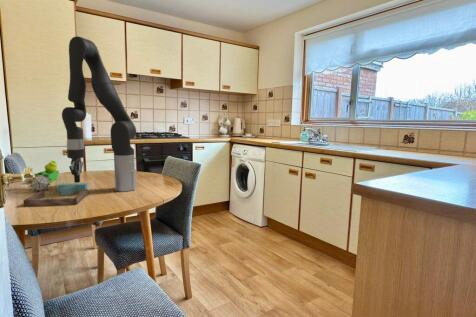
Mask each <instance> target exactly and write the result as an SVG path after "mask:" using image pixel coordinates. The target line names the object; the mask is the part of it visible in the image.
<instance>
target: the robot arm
mask: <svg viewBox="0 0 476 317" xmlns="http://www.w3.org/2000/svg"><path fill="white" fill-rule="evenodd" d="M68 59H69V61H68V62H69V64H68V65H69V83H68V94H67V99H68V101H69V102H71V103H73V106H74V107H71V106H67V107H65V108H63V109H62V112H61V118H62V122H63V124H64V125H63V126H64V128H65V130H66V154H67V155H66V156H67V158H68V159H71V161H70V165H69V166H68V167H69V170H70V173H71V175H72V176H73V180H74V182H73V183H81V173H82V172H83V167H84V163H83V161H82V159H83V158H85V153H86V152H85V142H84V130H83V128H82V127H81V126H78V125H77V123H82V122H83V121H84V120H85V119H86V117H87V109H86V102H85V98H86V97H85V96H86V90H87V85H86V79H85V76H84V71H83V63H84V61H85V63H86V64H87V67H88V69H89V70H90V75H91V76H90V79H91V80H90V81H91V82H90V84H91V87H92V90H93V93H94V94H95V97H96V98H97V100H98V102H99V103H100V104H101V106H102V107H103V108H105V109H106V110H107V112H109V114H110V116H111V117H112V119H113V120H114V123H113V124H111V127H110V142H111V149H112V152H113V162H114V163H113V165H114V166H113V167H114V168H113V169H114V190H115V191H116V192H129V191H135V190H136V189H137V174H136V173H137V171H136V170H137V169H136V164H135V162H136V160H135V149H134V148H133V147H132V146H131V145H132V144H131V140H133V139H134V138H135V137H136V135H137V128H136V125H135V124H134V122H133V120H132V118H130V115H129V114H128V113H127V111H126V109H125V106H124V105H123V103H122V100H121V98H120V96H119V93H118V92H117V89H116V87H115V86H114V83H113V81H112V80H111V77H110V76H109V73H108V71H107V69H106V67H105V65H104V62H103V60H102V57H101V55H100V52H99V49H98V47H97V45H96V44H95V43H94V42H93V41H92V40H90V39H87V38H84V37H82V36H77V35H76V36H73V37H72V38H71V39H70V40H69V44H68Z"/></svg>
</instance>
